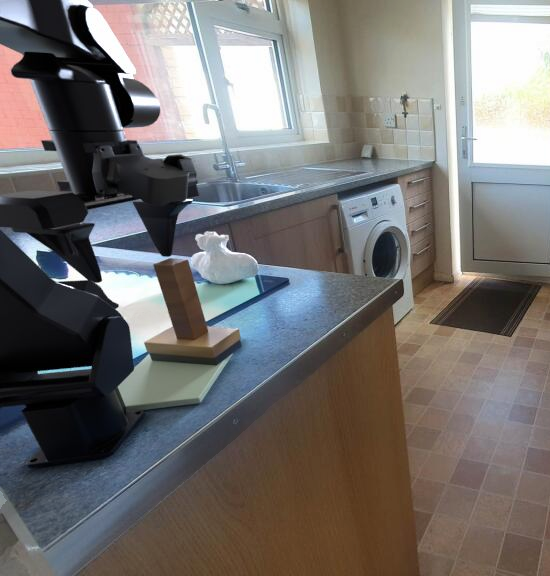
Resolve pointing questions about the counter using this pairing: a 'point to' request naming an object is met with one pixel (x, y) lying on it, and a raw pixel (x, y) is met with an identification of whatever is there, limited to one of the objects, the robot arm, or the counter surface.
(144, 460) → the counter surface
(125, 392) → the board
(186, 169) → the robot arm
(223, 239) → the white curved figure
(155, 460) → the counter surface
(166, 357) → the brush
